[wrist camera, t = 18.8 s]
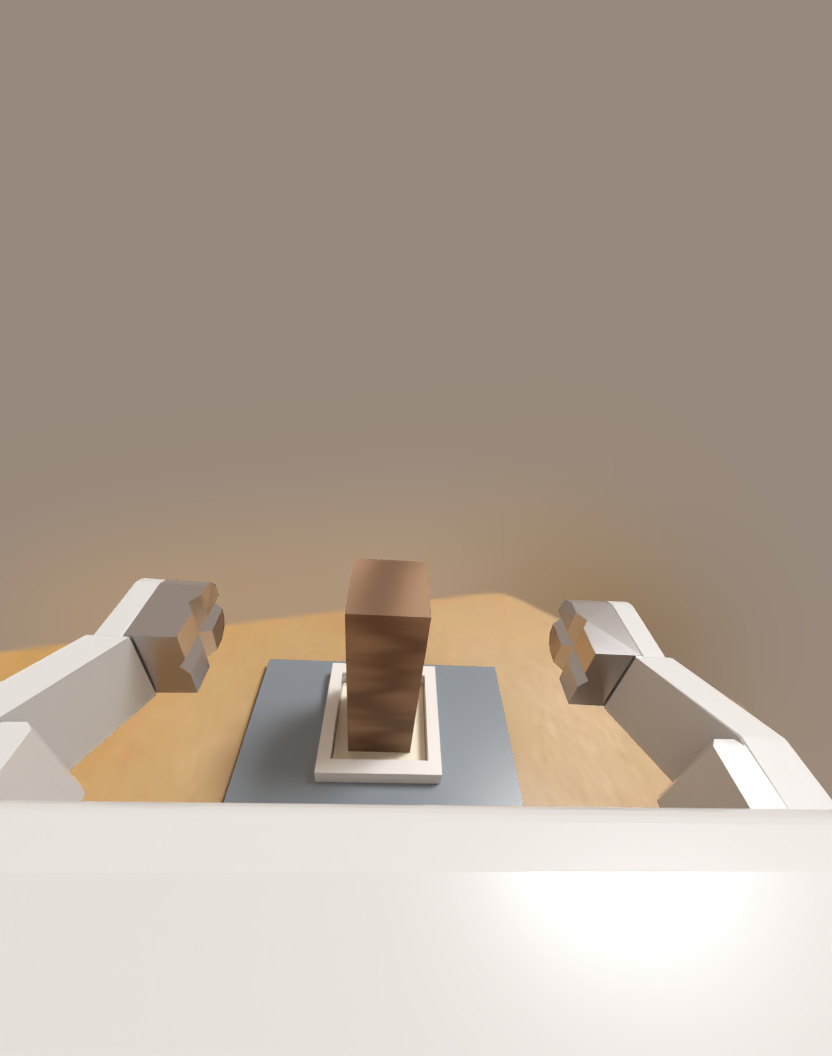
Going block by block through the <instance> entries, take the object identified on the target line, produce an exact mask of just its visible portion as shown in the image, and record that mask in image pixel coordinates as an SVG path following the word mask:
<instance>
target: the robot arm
mask: <svg viewBox="0 0 832 1056" xmlns="http://www.w3.org/2000/svg"><path fill="white" fill-rule="evenodd" d="M218 595H219V594H218V591H217V588H216V585H215V584H213V583H209V582H196V581H182V580H168V579H167V580H161V579H148V578H142V579H140V580H139V581H137V582H135V583H134V585H133V586H132V587H131V589H130V590H129V591H128V592H127V594H126V595H125V596H124V597H123V599H122V600H121V601H120V602H119V604H118V605H117V606H116V607H115V609H114V610H113V611H112V613H111V614H110V615H109V616H108V618H107V619H106V620H105V621H104V623H103V624H102V625H101V626H100V628H99V629H98V630H97V632H96V633H95V634H94V635H85V636H83V637H81V638H80V639H78V640H76V641H74V642H72V643H71V644H69V645H67V646H65V647H63V648H62V649H60V650H58V651H56V652H54V653H52V654H51V655H49V656H47V657H45V658H43V659H42V660H40V661H38V662H36V663H34V664H33V665H31V666H29V667H27V668H25V669H24V670H22V671H20V672H18V673H16V674H15V675H13V676H11V677H9V678H7V679H6V680H4V681H2V682H0V1056H832V800H831V798H830V797H829V796H828V795H827V793H826V792H825V791H824V789H823V788H822V787H821V785H820V784H819V783H818V781H817V780H816V779H815V777H814V776H813V775H812V774H811V772H810V771H809V770H808V768H807V767H806V766H805V764H804V763H803V762H802V761H801V759H800V758H799V757H798V755H797V754H796V753H795V751H794V750H793V749H792V747H791V746H790V745H789V743H788V742H787V741H786V739H784V738H783V737H781V736H780V735H779V734H777V733H776V732H775V731H773V730H772V729H770V728H769V727H768V726H766V725H765V724H763V723H762V722H761V721H759V720H758V719H756V718H755V717H754V716H752V715H751V714H749V713H748V712H747V711H745V710H744V709H742V708H741V707H740V706H738V705H737V704H735V703H734V702H733V701H731V700H730V699H728V698H727V697H726V696H724V695H723V694H721V693H720V692H719V691H717V690H716V689H714V688H713V687H712V686H710V685H709V684H707V683H706V682H704V681H703V680H702V679H700V678H699V677H698V676H696V675H695V674H693V673H692V672H691V671H689V670H688V669H686V668H685V667H683V666H682V665H680V664H679V663H678V662H676V661H675V660H674V659H672V658H665V656H664V655H663V653H662V652H661V650H660V649H659V647H658V645H657V644H656V642H655V641H654V639H653V637H652V636H651V634H650V633H649V631H648V629H647V628H646V626H645V625H644V623H643V622H642V620H641V618H640V617H639V615H638V614H637V612H636V611H635V609H634V607H633V606H632V605H631V604H629V603H628V602H610V601H607V602H604V601H583V600H565V601H564V602H563V603H562V604H561V607H560V609H559V613H560V616H561V619H559V620H558V621H557V622H555V623H554V624H553V626H552V629H551V631H550V638H549V646H550V652H551V656H552V659H553V662H554V663H555V664H556V665H557V666H559V667H560V668H561V669H562V670H563V671H562V674H561V676H560V678H559V679H560V681H561V684H562V687H563V690H564V692H565V695H566V698H567V701H568V703H569V704H579V705H596V706H605V707H604V708H605V710H606V711H607V712H608V713H609V714H610V715H611V716H612V717H613V718H614V719H615V720H616V721H617V722H618V724H619V725H620V726H621V727H622V728H623V729H624V730H625V731H626V732H627V733H628V734H629V735H630V736H631V738H632V739H633V740H634V741H635V742H636V743H637V744H638V745H639V746H640V747H641V748H642V749H643V750H644V752H645V753H646V754H647V755H648V756H649V757H650V758H651V759H652V760H653V761H654V762H655V763H656V765H657V766H658V767H659V768H660V769H661V770H662V771H663V772H664V773H665V774H666V775H667V776H668V777H669V779H670V780H671V781H672V783H671V784H670V785H669V786H668V787H667V788H666V789H665V790H664V791H663V792H662V793H661V794H660V796H659V798H658V800H657V802H658V804H659V806H660V808H652V807H566V806H480V805H394V804H307V803H215V802H124V801H81V800H82V799H83V797H84V795H85V792H84V789H83V787H82V785H81V784H80V783H79V782H78V781H77V779H76V778H75V777H74V776H73V775H72V774H71V772H70V770H71V769H72V768H73V767H74V766H75V765H77V764H78V763H79V762H80V761H81V760H82V759H83V758H85V757H86V756H87V755H88V754H89V753H90V752H91V751H93V750H94V749H95V748H96V747H97V746H98V745H99V744H101V743H102V742H103V741H104V740H105V739H106V738H107V737H109V736H110V735H111V734H112V733H113V732H114V731H115V730H117V729H118V728H119V727H120V726H121V725H122V724H124V723H125V722H126V721H127V720H128V719H129V718H130V717H132V716H133V715H134V714H135V713H136V712H137V711H138V710H140V709H141V708H142V707H143V706H144V705H145V704H146V703H148V702H149V701H150V700H151V699H152V698H153V697H154V696H156V693H197V692H198V690H199V688H200V686H201V684H202V682H203V679H204V677H205V675H206V673H207V671H208V669H209V663H208V659H207V657H208V656H209V655H210V654H212V653H213V652H214V651H216V650H217V649H218V647H219V644H220V642H221V640H222V636H223V631H224V614H223V609H222V608H221V607H219V606H218V605H217V604H215V601H216V600H217V598H218Z"/></svg>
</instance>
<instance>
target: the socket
mask: <svg viewBox="0 0 832 1056" xmlns="http://www.w3.org/2000/svg"><path fill="white" fill-rule="evenodd" d="M342 684H343V688H342ZM341 692H342V695H341ZM423 694H424V705H423ZM340 699H341V702H340ZM339 706H340V709H339ZM338 713H339V716H338ZM337 720H338V723H337ZM424 720H425V731H424ZM336 727H337V730H336ZM335 734H336V737H335ZM334 741H335V744H334ZM425 746H426V758H425ZM333 748H334V752H333ZM332 755H333V759H332ZM314 775H315V782H362V783H422V784H440V781H441V778H442V764H441V749H440V735H439V720H438V705H437V690H436V675H435V666H423V672H422V679H421V685H420V691H419V698H418V704H417V711H416V717H415V724H414V730H413V736H412V743H411V749H410V753H404V752H359V751H348V729H347V682H346V663H333V666H332V671H331V677H330V683H329V689H328V695H327V701H326V706H325V712H324V718H323V724H322V730H321V736H320V741H319V747H318V753H317V759H316V765H315V771H314Z"/></svg>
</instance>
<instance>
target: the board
mask: <svg viewBox="0 0 832 1056" xmlns="http://www.w3.org/2000/svg"><path fill="white" fill-rule="evenodd" d="M333 663H346V662H335V661H308V660H280V659H270V660H269V663H268V666H267V669H266V672H265V675H264V678H263V682H262V685H261V688H260V691H259V694H258V697H257V700H256V703H255V706H254V709H253V713H252V716H251V719H250V722H249V725H248V728H247V731H246V734H245V737H244V740H243V744H242V747H241V750H240V753H239V756H238V759H237V762H236V765H235V768H234V771H233V775H232V778H231V781H230V784H229V787H228V790H227V793H226V796H225V799H224V802H223V803H307V804H394V805H480V806H523V802H522V797H521V792H520V787H519V782H518V778H517V773H516V768H515V763H514V758H513V753H512V749H511V744H510V739H509V734H508V729H507V724H506V720H505V715H504V710H503V705H502V700H501V695H500V690H499V686H498V681H497V676H496V671H495V667H473V666H446V665H424V666H435V675H436V690H437V705H438V720H439V735H440V749H441V764H442V778H441V781H440V784H422V783H362V782H315V775H314V771H315V765H316V759H317V753H318V747H319V741H320V736H321V730H322V724H323V718H324V712H325V706H326V701H327V695H328V689H329V683H330V677H331V671H332V666H333ZM342 688H343V684H342ZM341 695H342V692H341ZM340 702H341V699H340ZM423 705H424V694H423ZM339 709H340V706H339ZM338 716H339V713H338ZM337 723H338V720H337ZM336 730H337V727H336ZM424 731H425V720H424ZM335 737H336V734H335ZM334 744H335V741H334ZM333 752H334V748H333ZM425 758H426V746H425ZM332 759H333V755H332Z"/></svg>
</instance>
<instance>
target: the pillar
mask: <svg viewBox="0 0 832 1056" xmlns="http://www.w3.org/2000/svg"><path fill="white" fill-rule="evenodd" d="M430 621H431V609H430V595H429V579H428V565H427V562H414V561H394V560H376V559H357V558H354V562H353V569H352V574H351V581H350V586H349V593H348V599H347V605H346V611H345V634H346V682H347V729H348V751H359V752H404V753H410V749H411V743H412V736H413V730H414V724H415V717H416V711H417V704H418V698H419V691H420V685H421V679H422V672H423V666H424V659H425V653H426V647H427V640H428V634H429V627H430Z"/></svg>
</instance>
